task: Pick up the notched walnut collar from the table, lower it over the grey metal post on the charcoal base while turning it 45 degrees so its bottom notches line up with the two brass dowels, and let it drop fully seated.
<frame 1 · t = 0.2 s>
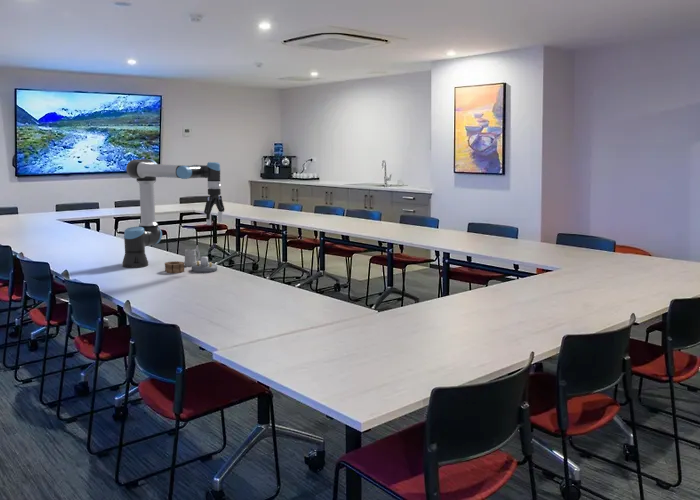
hand: (214, 223, 378), 27 cm above the table, fingers open, 13 cm apart
flange base: (204, 270, 376), on the table
mug: (192, 265, 393), on the table
collar: (174, 271, 371), on the table
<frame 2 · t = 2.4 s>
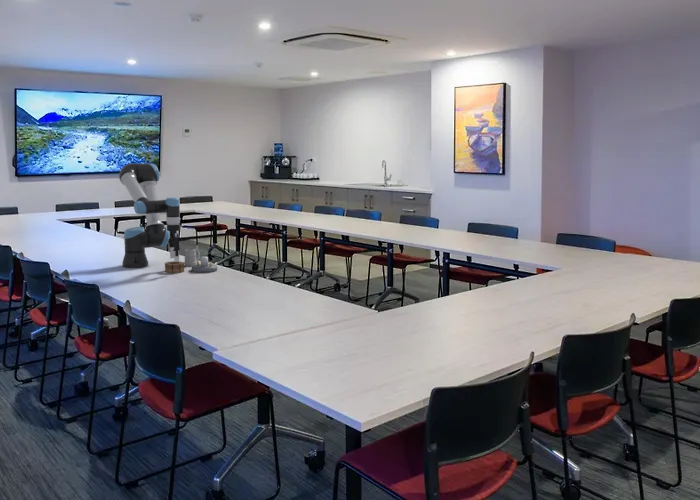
hand: (174, 259, 370), 7 cm above the table, fingers open, 13 cm apart
nothing on the table moved.
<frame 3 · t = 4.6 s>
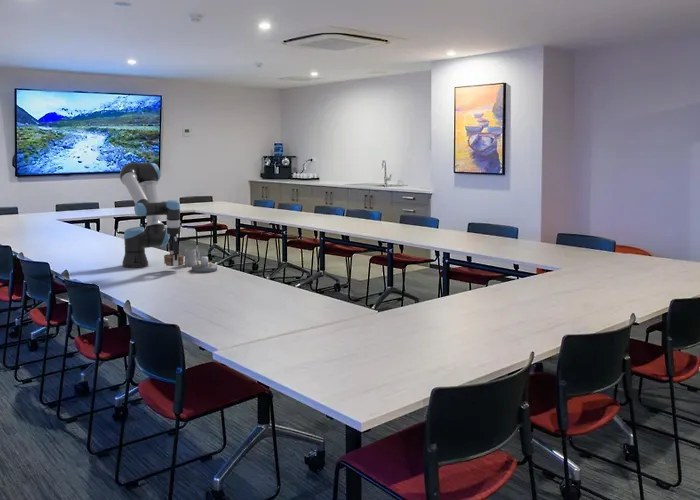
hand: (174, 263, 371), 5 cm above the table, fingers closed on collar, 11 cm apart
collar: (173, 264, 371), point 4 cm above the table, touching gripper
everything else where it was.
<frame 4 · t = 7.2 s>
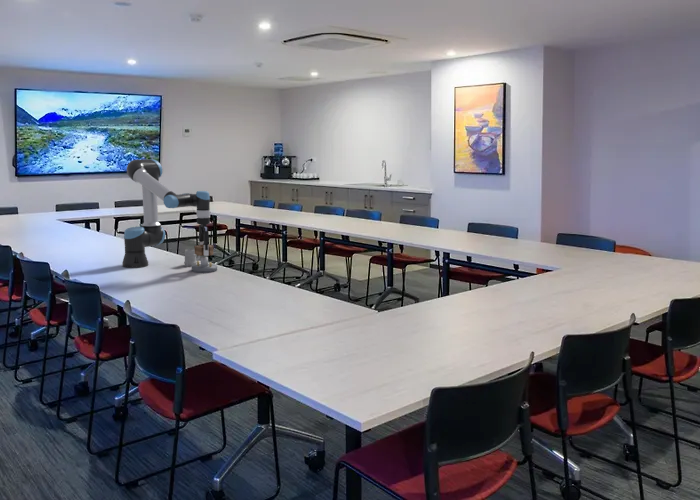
hand: (204, 253, 374), 10 cm above the table, fingers closed on collar, 11 cm apart
collar: (204, 254, 374), point 10 cm above the table, touching gripper
everything else where it was.
when the fingers open (5 cm above the table, at t = 10.1 s): collar drops 2 cm, resting on flange base.
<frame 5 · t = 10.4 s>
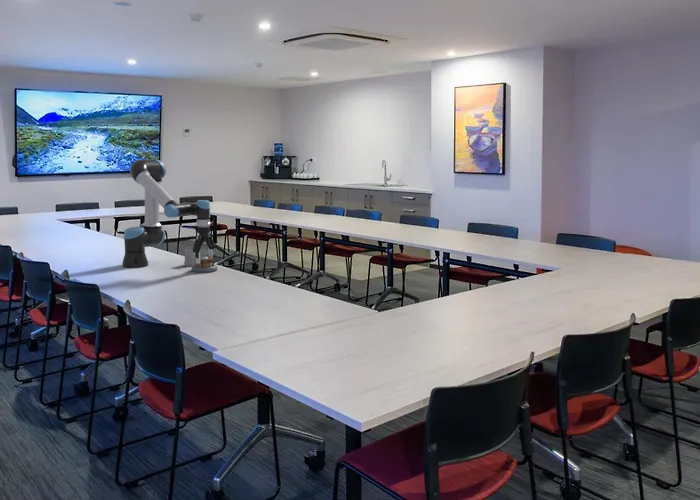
hand: (204, 261, 375), 5 cm above the table, fingers open, 13 cm apart
collar: (204, 266, 376), point 2 cm above the table, touching flange base
everything else where it was.
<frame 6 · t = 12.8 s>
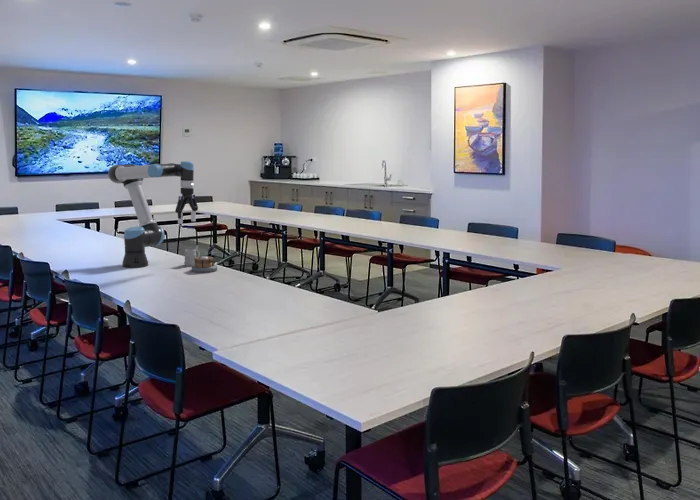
hand: (186, 222, 379), 28 cm above the table, fingers open, 13 cm apart
nothing on the table moved.
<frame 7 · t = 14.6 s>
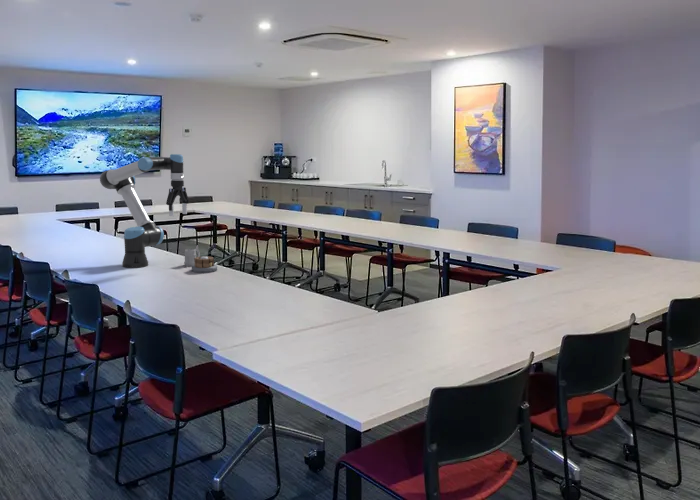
hand: (178, 215, 382), 32 cm above the table, fingers open, 13 cm apart
nothing on the table moved.
at the end: collar 0.1 cm off-centre on the flange base, point 2.5 cm above the flange base's base; the gripper is holding nothing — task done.
